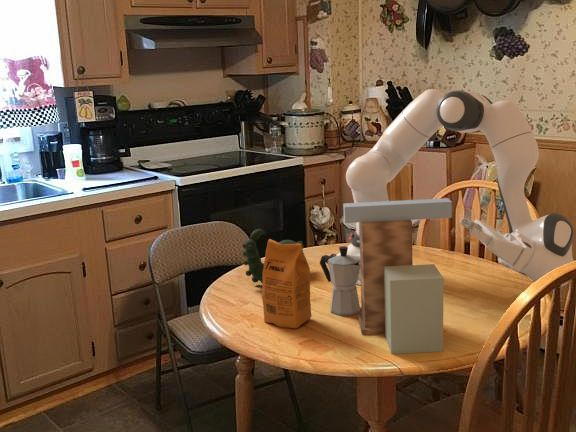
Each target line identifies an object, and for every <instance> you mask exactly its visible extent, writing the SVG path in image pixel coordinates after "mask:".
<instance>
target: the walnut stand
mask: <svg viewBox="0 0 576 432" xmlns="http://www.w3.org/2000/svg"><path fill="white" fill-rule="evenodd" d="M359 236H360V272H361V285H360V300H361V301H360V303H361V306H360V310H361V312H359V313H357V314H356V315H357V321H358V324H359V325H358V326H359V329H360V333H361V335H380V334H385V291H384V267H386V266H407V265H413V220H397V221H377V222H359Z"/></svg>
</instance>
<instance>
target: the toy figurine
mask: <svg viewBox="0 0 576 432" xmlns="http://www.w3.org/2000/svg"><path fill="white" fill-rule="evenodd" d="M262 235H264V236H265V235H266V231H265V230H264V229H262V228H257V229H255V230H253V231H252V232H251V233H250V239H247V240H246V241H245V242H244V243H243V244H242V245H241V247H242V248H243V249H245V251H242V256H244V257H246V258H247V259H246V260H243V265H244V266H248V269H247V270H246V271H245V276H247V277H250V276H252V277H251V281H252V282H253V283H258V282H260V284H263V278H262V277H263V269H264V262H262V259H261V257H260V255H259V249H258V248H257V243H256V241H258V240H259V238H260V237H261V236H262ZM303 241H304V240H303ZM303 241H302V240H299V241H294V240H291V239H284V240H283V239H282V240H281V241H279V242H278V243H280V244H303Z"/></svg>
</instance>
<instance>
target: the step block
mask: <svg viewBox="0 0 576 432" xmlns="http://www.w3.org/2000/svg"><path fill="white" fill-rule="evenodd" d="M384 291H385V333H384V336H385V340H386V342H387V345H388V349H389V351H390V354H391V355H394V354H395V355H396V354H399V355H400V354H413V353H414V354H416V353H440V352H444V276H443V275H442V274H441V273H440V271H439V269H438V267H437V266H436V265H435V264H434V263H433V264H432V263H431V264H430V263H429V264H412V265H407V266H386V267H384Z"/></svg>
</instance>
